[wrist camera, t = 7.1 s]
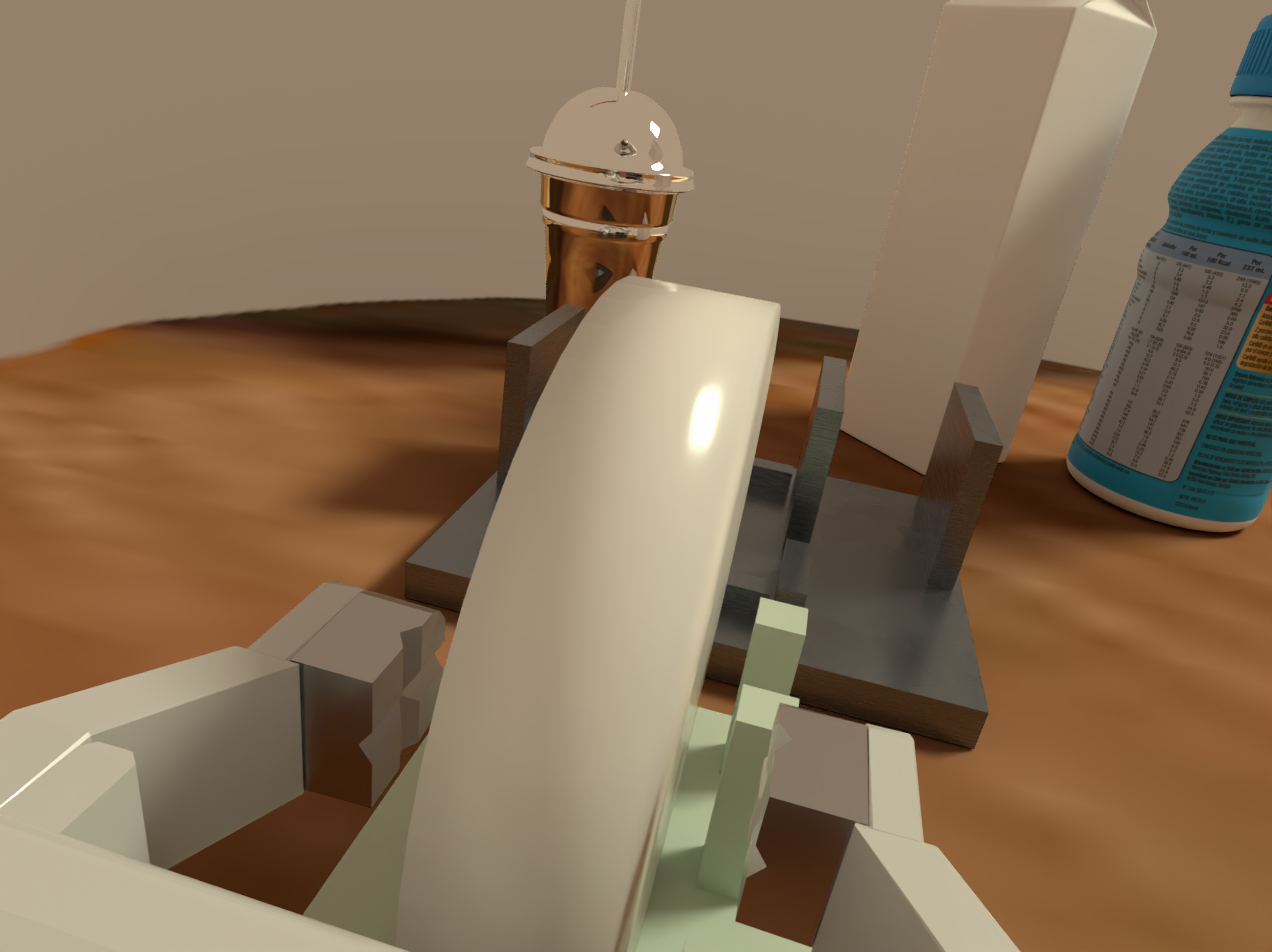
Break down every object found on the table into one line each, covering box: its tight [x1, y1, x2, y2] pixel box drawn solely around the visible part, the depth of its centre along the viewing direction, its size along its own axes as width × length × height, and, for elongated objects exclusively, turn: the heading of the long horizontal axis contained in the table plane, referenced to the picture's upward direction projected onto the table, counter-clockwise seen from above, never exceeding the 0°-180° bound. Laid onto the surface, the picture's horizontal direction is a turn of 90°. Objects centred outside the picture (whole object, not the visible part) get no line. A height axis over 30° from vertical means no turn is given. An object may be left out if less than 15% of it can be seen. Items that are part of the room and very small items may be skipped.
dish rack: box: [405, 304, 1003, 749], centre depth 28 cm, size 16×13×6 cm
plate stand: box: [303, 597, 812, 952], centre depth 15 cm, size 9×12×5 cm
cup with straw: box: [526, 0, 695, 317], centre depth 42 cm, size 8×9×20 cm
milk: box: [840, 0, 1157, 475], centre depth 37 cm, size 6×6×22 cm
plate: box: [395, 275, 780, 952], centre depth 13 cm, size 2×11×11 cm, turn 166°
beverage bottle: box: [1067, 14, 1272, 532], centre depth 36 cm, size 8×8×20 cm
